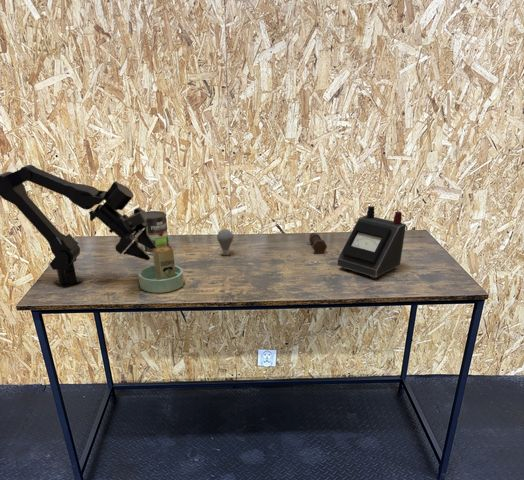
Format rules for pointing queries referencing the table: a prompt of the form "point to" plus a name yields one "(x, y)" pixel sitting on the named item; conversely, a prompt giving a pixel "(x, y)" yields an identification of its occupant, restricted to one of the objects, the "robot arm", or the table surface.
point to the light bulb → (225, 240)
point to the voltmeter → (373, 245)
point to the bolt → (317, 243)
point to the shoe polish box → (164, 263)
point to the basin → (159, 286)
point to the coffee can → (156, 230)
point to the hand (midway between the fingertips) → (152, 254)
